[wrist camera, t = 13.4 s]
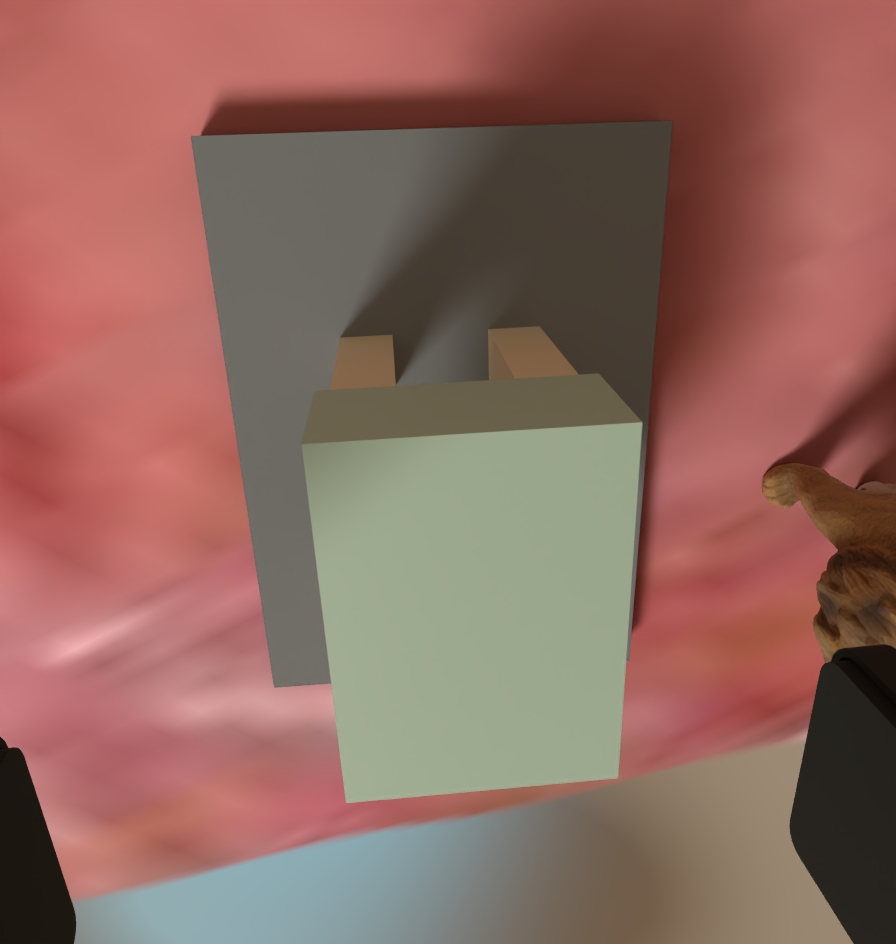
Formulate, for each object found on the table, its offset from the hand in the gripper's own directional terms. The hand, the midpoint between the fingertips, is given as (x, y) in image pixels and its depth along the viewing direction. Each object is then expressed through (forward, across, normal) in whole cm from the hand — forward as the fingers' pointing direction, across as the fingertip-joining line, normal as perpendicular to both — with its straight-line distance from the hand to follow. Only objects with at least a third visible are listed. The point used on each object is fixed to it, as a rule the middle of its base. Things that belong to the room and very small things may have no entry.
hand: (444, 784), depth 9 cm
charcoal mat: (+11, -1, 0) cm, 11 cm away
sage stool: (+11, -1, 0) cm, 11 cm away
